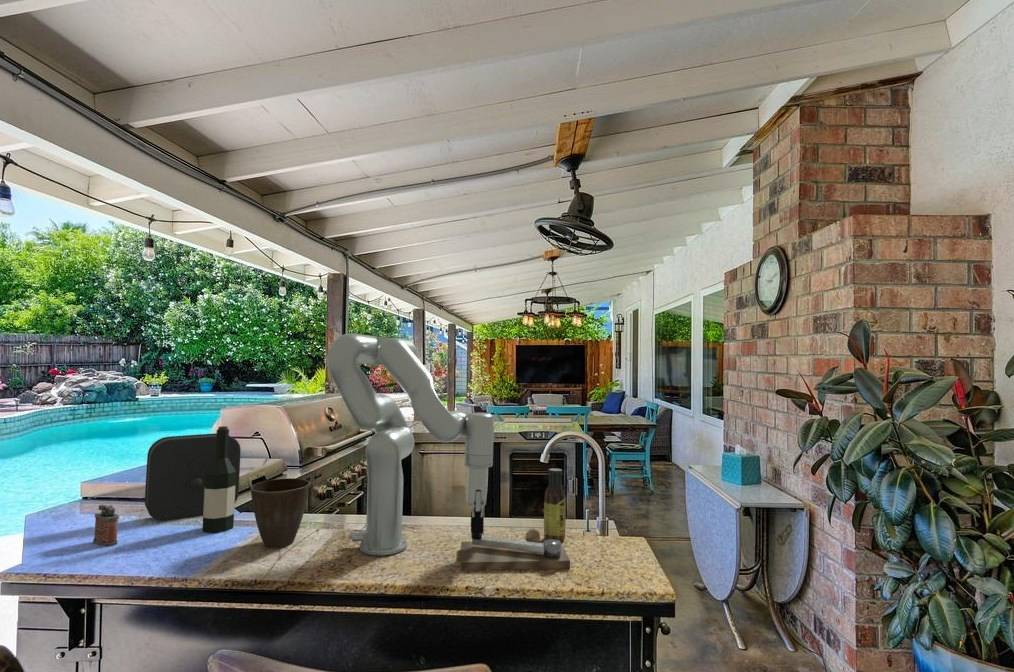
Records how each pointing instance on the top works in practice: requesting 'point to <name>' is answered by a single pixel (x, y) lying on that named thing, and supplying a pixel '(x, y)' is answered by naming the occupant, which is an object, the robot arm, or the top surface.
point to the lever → (519, 544)
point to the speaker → (182, 474)
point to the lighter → (106, 526)
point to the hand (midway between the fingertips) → (476, 529)
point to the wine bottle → (219, 488)
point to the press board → (509, 557)
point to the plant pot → (279, 509)
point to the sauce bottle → (554, 507)
